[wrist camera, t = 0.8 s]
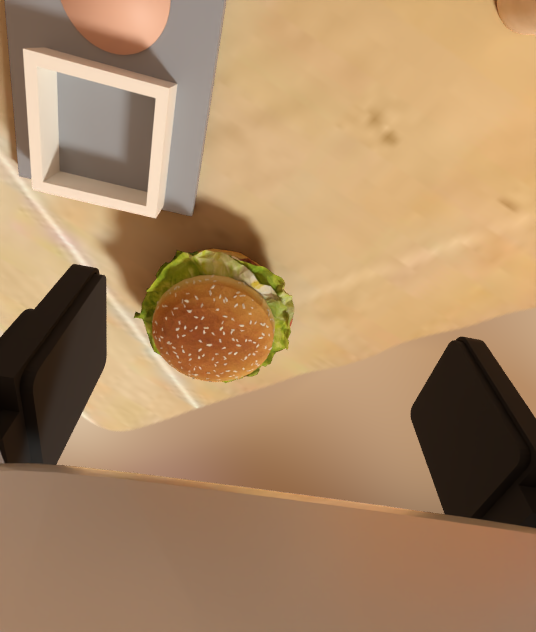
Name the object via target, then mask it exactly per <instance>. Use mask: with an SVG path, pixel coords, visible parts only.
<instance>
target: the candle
mask: <svg viewBox="0 0 536 632" xmlns="http://www.w3.org/2000/svg"><path fill="white" fill-rule="evenodd" d="M497 9H498V13H499V16H500V18H501V20H502V22H503V23H504V24H505V26H506V27H508V28H509V29H510V30H512V31H514V32H516V33H519V34H524V35H536V0H497Z"/></svg>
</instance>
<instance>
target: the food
mask: <svg viewBox="0 0 536 632" xmlns="http://www.w3.org/2000/svg"><path fill="white" fill-rule="evenodd" d="M156 278H157V279H156V280H155V281H154V283H153V284H152V285H151V287H150V288H148V289H147V290H146V292H147V294H146V296H145V298H144V301H143V303H142V310H141V314H140V313H138V312H136V313H135V316H134V318H141V319H143V321H144V324H145V327H146V331H147V334H148V336H149V340H150V343H151V346H152V348H153V350H154V352H156V353H158V354H160V355H161V356H162V357H163V358H164V359H165V360H166V361H167V363H168V364H169V365H171V366H172V367H174V368H175V369H176V370H178V371H179V372H181V373H183V374H185V375H187V376H189V377H192V378H193V379H194V378H196V379H200V380H204V381H209V382H212V381H213V382H220V381H222V382H225V383H227V382H230V381H233V380H236V379H240V378H243V377H245V376H249V377H250V376H254V375H256V374H258V372H259V368H260V367H261V366H265V367H266V366H267V364H270V363H271V361H272V358H273V355H274V354H275V353H276V352H278V351H280V350H283V349H285V348H286V349H288V344H289V341H288V337H289V335H290V333H291V331H290V326H291V323H292V318H293V314H294V306H293V302H292V296H291V295H288V294H287V293H286V292H285V291H284V286H285V282H284V280H283V279H282V278H281V277H279V276H277V275H275V274H273V273H272V272H271V271H270V270H268V269H267V268H265V267H263V266H260V265H259V264H258V263H256V262H255V261H253V260H251V259H250V258H248V257H246V256H245V255H243V254H241V253H238V252H234V251H227V250H221V249H213V248H212V249H206V250H202V251H196V252H194V253H187V252H182V251H178V250H177V252H176V255H175V257H174V258H173V260H172V261H171V262H170V263H164V264H163V265H162V266H161V267H160V269H159V271H158V272H157V274H156Z"/></svg>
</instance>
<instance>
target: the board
mask: <svg viewBox="0 0 536 632" xmlns="http://www.w3.org/2000/svg"><path fill="white" fill-rule="evenodd" d="M4 1H5V13H6V25H7V37H8V49H9V61H10V73H11V85H12V97H13V110H14V122H15V134H16V146H17V158H18V170H19V176H21V177H25V178H29V179H32V190H35V191H39V192H43V193H48V194H52V195H56V196H61V197H65V198H69V199H74V200H78V201H82V202H87V203H91V204H95V205H100V206H104V207H108V208H113V209H117V210H121V211H126V212H130V213H134V214H139V215H143V216H147V217H152V218H156V217H157V216H158V214H159V213H160V211H161V209H162V210H166V211H170V212H174V213H179V214H183V215H187V216H191V217H192V215H193V212H194V207H195V201H196V194H197V188H198V181H199V175H200V168H201V162H202V155H203V149H204V142H205V136H206V129H207V123H208V116H209V110H210V103H211V97H212V90H213V84H214V77H215V71H216V64H217V58H218V51H219V45H220V38H221V32H222V25H223V19H224V12H225V6H226V0H4Z"/></svg>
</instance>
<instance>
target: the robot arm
mask: <svg viewBox="0 0 536 632" xmlns="http://www.w3.org/2000/svg"><path fill="white" fill-rule="evenodd" d="M106 355H107V350H106V277H105V275H99V270H98V269H97V268H93V267H88V266H82V265H77V264H73V265H72V266H71V267H70V268H69V269H68V270H67V271H66V272H65V274H64V275H63V276H62V277H61V278H60V280H59V281H58V282H57V283H56V284H55V285H54V287H53V288H52V289H51V290H50V291H49V293H48V294H47V295H46V296H45V297H44V298H43V300H42V301H41V302H40V303H39V304H38V306H37V307H36V308H35V309H27V310H25V311H24V312H22V313H21V314H20V316H19V317H18V318H17V319H16V320H15V321H14V322H13V323H12V325H11V326H10V327H9V328H8V329H7V330H6V331H5V333H4V334H3V335H2V336H1V337H0V632H536V418H535V417H534V415H533V414H532V412H531V411H530V409H529V408H528V406H527V405H526V404H525V402H524V400H523V399H522V398H521V396H520V395H519V393H518V392H517V390H516V389H515V387H514V386H513V384H512V383H511V381H510V380H509V378H508V377H507V375H506V374H505V372H504V371H503V369H502V368H501V366H500V365H499V363H498V362H497V360H496V359H495V358H494V356H493V355H492V353H491V352H490V350H489V349H488V347H487V346H486V344H485V343H484V342H483V341H481V340H477V339H472V338H467V337H459V338H457V339H456V340H454V341H451V342H450V343H449V344H448V346H447V348H446V350H445V351H444V353H443V355H442V356H441V358H440V360H439V361H438V363H437V365H436V366H435V368H434V370H433V372H432V374H431V375H430V377H429V378H428V380H427V382H426V384H425V385H424V387H423V389H422V390H421V392H420V394H419V395H418V397H417V399H416V401H415V402H414V404H413V406H412V408H411V420H412V423H413V426H414V428H415V432H416V434H417V437H418V440H419V443H420V445H421V448H422V451H423V454H424V457H425V460H426V463H427V465H428V468H429V471H430V474H431V476H432V479H433V482H434V485H435V488H436V491H437V493H438V496H439V499H440V502H441V505H442V508H443V510H444V513H445V514H438V513H431V512H424V511H417V510H410V509H403V508H395V507H389V506H382V505H374V504H367V503H359V502H352V501H345V500H337V499H330V498H322V497H315V496H308V495H300V494H293V493H285V492H278V491H270V490H263V489H256V488H248V487H240V486H232V485H224V484H217V483H209V482H201V481H194V480H186V479H178V478H170V477H162V476H155V475H147V474H138V473H130V472H120V471H112V470H103V469H94V468H86V467H76V466H64V465H56V464H57V462H58V460H59V458H60V456H61V454H62V452H63V450H64V448H65V446H66V444H67V442H68V440H69V437H70V436H71V433H72V432H73V430H74V427H75V426H76V424H77V422H78V420H79V418H80V416H81V414H82V412H83V410H84V408H85V406H86V404H87V402H88V399H89V397H90V395H91V393H92V391H93V389H94V387H95V385H96V383H97V381H98V379H99V377H100V375H101V373H102V371H103V369H104V366H105V363H106Z"/></svg>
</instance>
